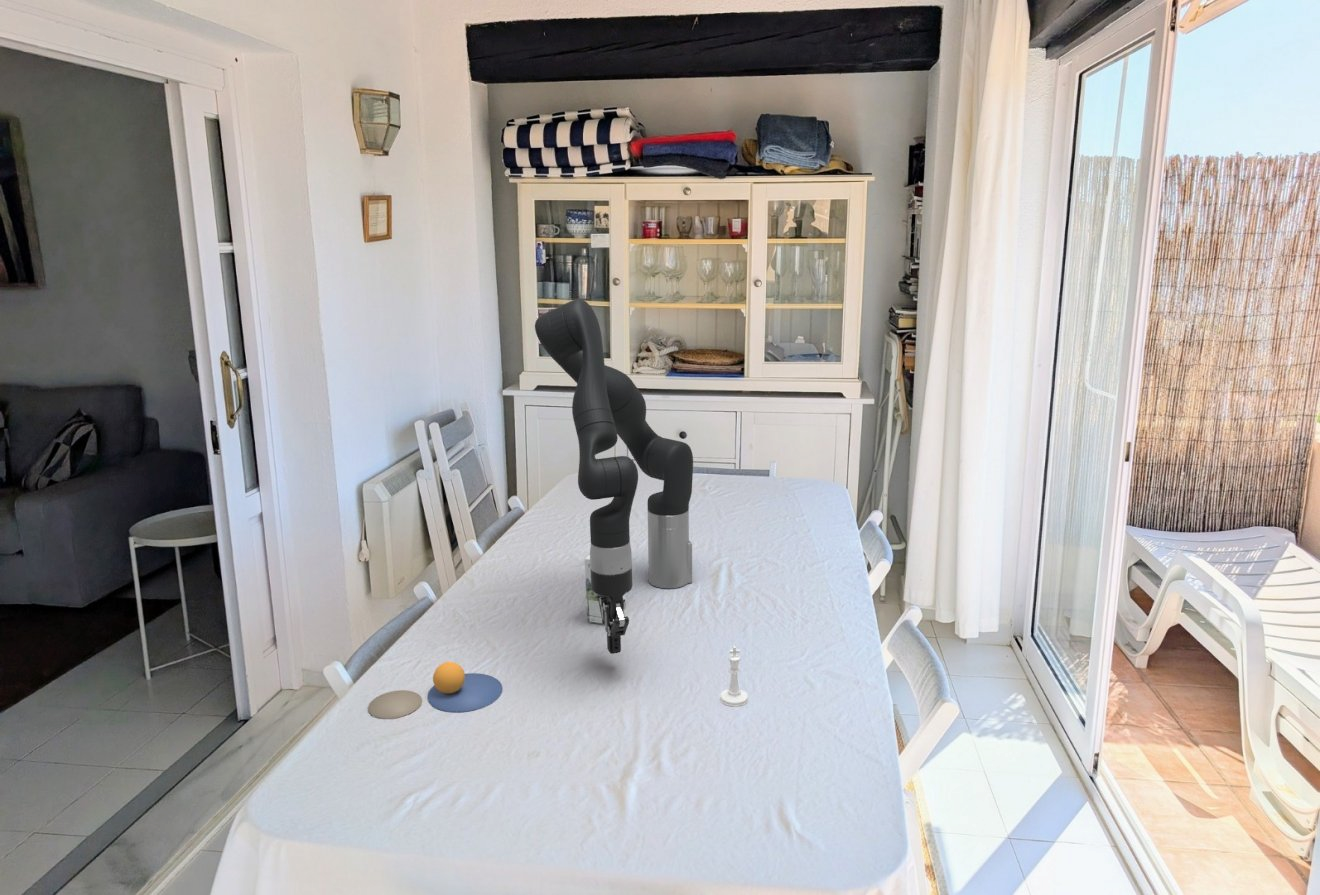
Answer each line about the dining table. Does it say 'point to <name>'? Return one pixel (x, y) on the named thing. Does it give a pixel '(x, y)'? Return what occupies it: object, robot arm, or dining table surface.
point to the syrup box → (591, 597)
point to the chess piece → (734, 684)
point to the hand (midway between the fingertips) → (614, 651)
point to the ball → (448, 677)
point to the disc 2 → (467, 694)
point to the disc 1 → (395, 704)
